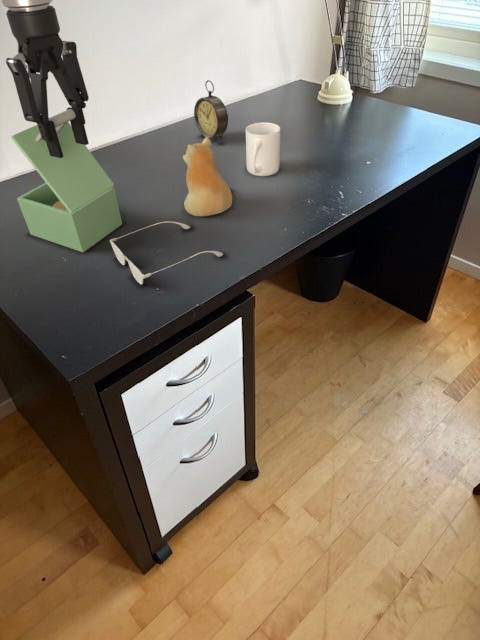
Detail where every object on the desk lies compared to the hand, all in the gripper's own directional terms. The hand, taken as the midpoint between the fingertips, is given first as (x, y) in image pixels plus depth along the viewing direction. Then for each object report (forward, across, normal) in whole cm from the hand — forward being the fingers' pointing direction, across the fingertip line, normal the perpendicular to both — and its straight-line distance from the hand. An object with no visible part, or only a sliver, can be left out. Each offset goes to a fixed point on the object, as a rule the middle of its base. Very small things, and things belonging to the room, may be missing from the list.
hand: (69, 149), depth 91 cm
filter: (+18, 0, +6) cm, 19 cm away
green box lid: (+3, 0, +3) cm, 4 cm away
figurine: (+19, +23, -15) cm, 34 cm away
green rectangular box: (+19, 0, +5) cm, 20 cm away
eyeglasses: (+19, +1, -20) cm, 27 cm away
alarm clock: (+19, +57, +4) cm, 60 cm away
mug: (+19, +43, -19) cm, 50 cm away
